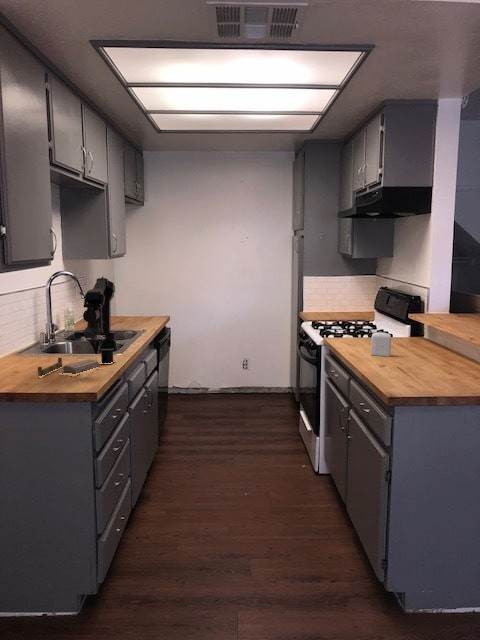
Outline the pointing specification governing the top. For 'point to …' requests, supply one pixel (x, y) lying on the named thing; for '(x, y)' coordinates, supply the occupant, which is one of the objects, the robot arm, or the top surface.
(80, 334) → the robot arm
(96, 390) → the top surface
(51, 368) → the stop board
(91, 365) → the packaged product
